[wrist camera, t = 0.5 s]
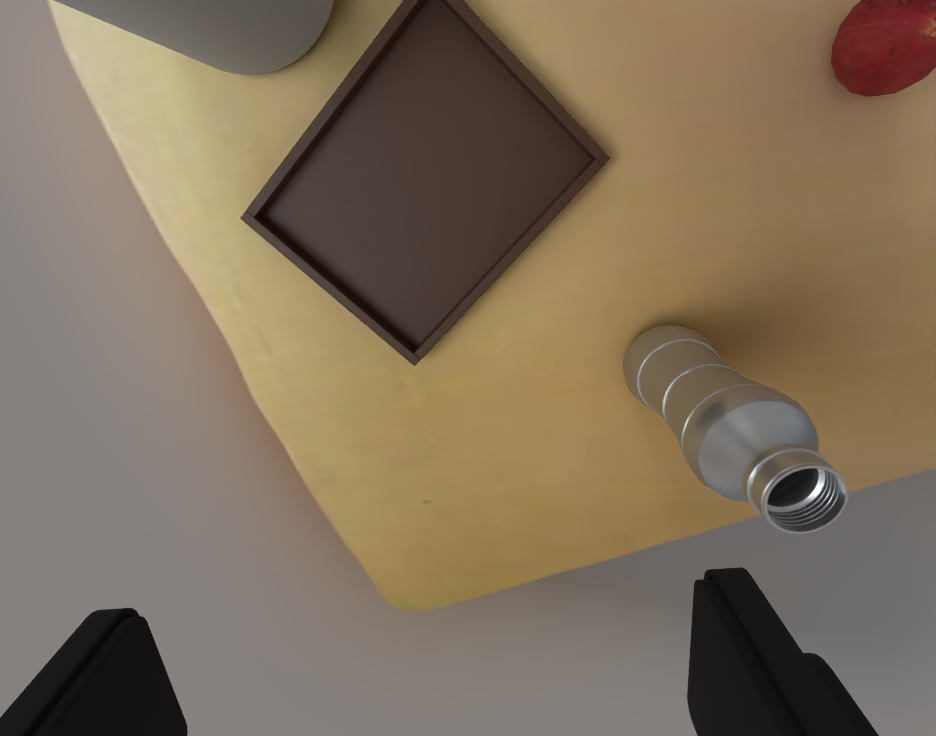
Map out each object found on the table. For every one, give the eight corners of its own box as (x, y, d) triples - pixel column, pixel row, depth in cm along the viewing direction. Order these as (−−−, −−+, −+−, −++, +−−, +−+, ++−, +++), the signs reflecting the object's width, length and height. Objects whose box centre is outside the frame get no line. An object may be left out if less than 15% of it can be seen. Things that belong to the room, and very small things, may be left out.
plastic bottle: (623, 314, 42) (747, 428, 23) (711, 321, 42) (906, 440, 23) (609, 392, 44) (712, 555, 25) (693, 399, 44) (857, 566, 25)
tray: (432, -24, 35) (429, -35, 33) (603, 159, 38) (610, 158, 36) (251, 216, 40) (239, 218, 38) (417, 358, 43) (414, 366, 41)
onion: (807, 10, 35) (899, -36, 27) (901, -5, 35) (1019, -56, 27) (802, 109, 37) (886, 91, 29) (890, 95, 36) (998, 74, 29)
